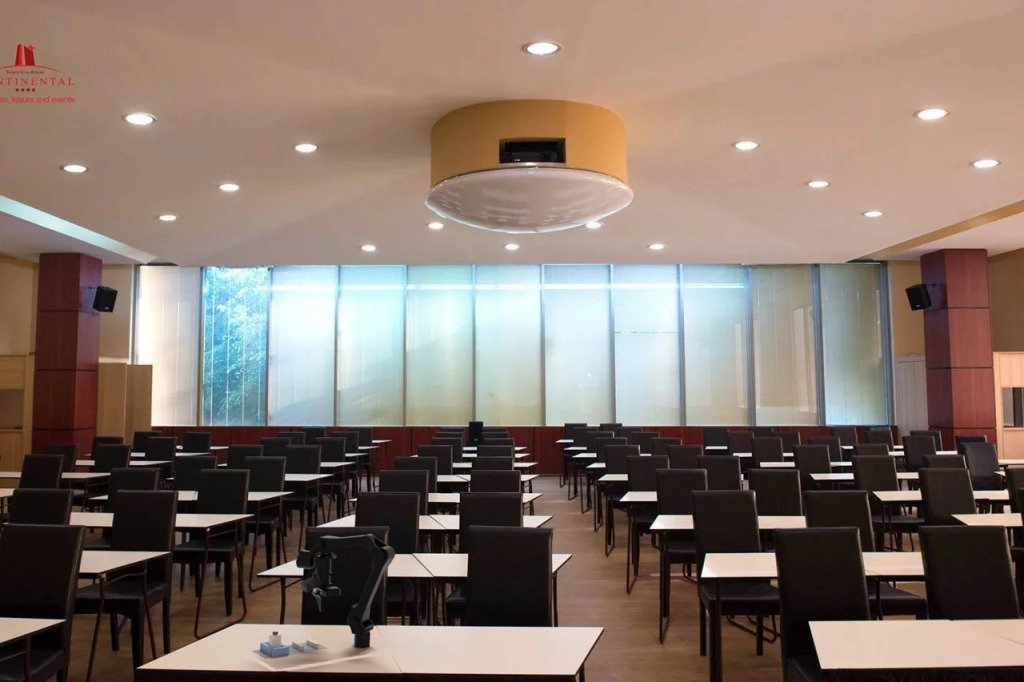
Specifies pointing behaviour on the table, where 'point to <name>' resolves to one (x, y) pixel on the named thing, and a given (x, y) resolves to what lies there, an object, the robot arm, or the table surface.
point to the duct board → (287, 649)
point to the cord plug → (275, 640)
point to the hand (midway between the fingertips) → (321, 611)
